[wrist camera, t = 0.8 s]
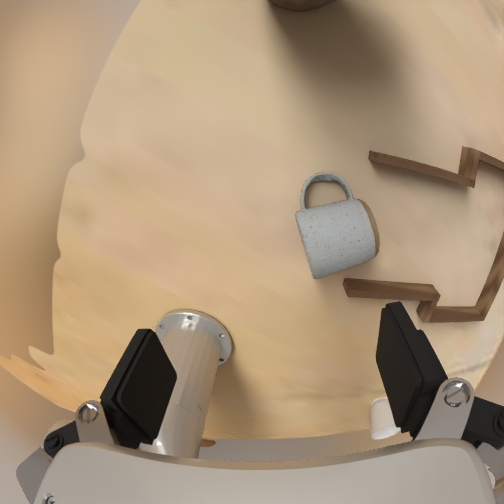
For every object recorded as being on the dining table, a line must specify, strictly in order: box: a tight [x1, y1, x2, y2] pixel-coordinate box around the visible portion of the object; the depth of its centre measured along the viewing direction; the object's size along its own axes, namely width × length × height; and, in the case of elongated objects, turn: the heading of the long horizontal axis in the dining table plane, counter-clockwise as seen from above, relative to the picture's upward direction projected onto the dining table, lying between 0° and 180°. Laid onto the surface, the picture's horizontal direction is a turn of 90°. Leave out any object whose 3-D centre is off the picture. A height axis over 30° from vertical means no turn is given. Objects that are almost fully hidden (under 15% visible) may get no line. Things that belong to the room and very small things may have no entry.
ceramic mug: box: [295, 172, 380, 279], centre depth 29 cm, size 11×8×8 cm
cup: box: [370, 397, 401, 439], centre depth 44 cm, size 7×10×8 cm
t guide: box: [343, 146, 504, 323], centre depth 31 cm, size 26×29×3 cm
